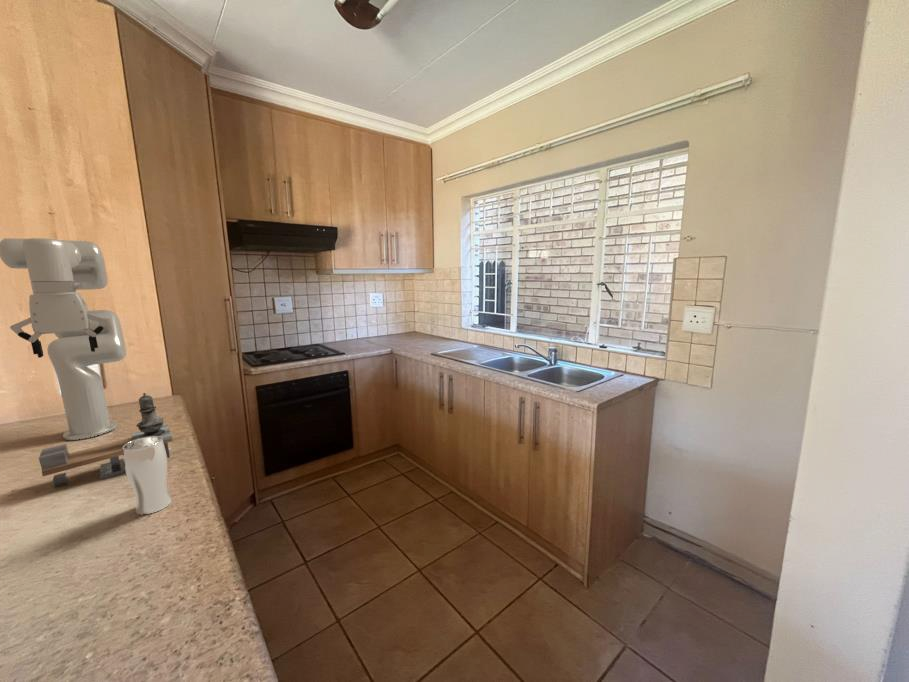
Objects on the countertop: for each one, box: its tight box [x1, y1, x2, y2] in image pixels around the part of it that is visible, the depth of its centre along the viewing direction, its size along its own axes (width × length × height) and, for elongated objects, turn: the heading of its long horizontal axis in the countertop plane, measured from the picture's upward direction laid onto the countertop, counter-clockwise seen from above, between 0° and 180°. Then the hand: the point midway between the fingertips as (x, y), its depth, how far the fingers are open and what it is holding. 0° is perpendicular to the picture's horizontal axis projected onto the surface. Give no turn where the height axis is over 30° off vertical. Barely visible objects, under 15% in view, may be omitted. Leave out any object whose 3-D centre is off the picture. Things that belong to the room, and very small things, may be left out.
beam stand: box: [52, 442, 170, 489], centre depth 95 cm, size 8×22×5 cm, turn 133°
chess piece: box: [136, 392, 165, 438], centre depth 99 cm, size 6×6×12 cm
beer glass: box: [122, 436, 172, 516], centre depth 79 cm, size 7×7×15 cm
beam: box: [38, 424, 173, 477], centre depth 94 cm, size 10×24×4 cm, turn 133°
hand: (68, 353), depth 97 cm, fingers open, 9 cm apart
